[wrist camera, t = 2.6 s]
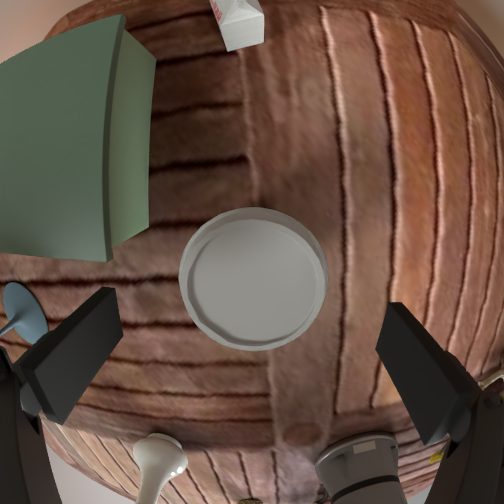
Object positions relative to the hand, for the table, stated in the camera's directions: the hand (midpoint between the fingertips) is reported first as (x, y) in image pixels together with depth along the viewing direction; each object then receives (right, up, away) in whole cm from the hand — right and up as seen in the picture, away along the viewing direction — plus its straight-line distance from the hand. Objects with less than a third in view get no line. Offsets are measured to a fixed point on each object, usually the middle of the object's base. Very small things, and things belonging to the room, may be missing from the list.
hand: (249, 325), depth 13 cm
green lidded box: (-18, +15, +13) cm, 27 cm away
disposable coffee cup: (+1, +4, +16) cm, 16 cm away
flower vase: (-14, -29, +26) cm, 42 cm away
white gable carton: (-1, +27, +9) cm, 28 cm away
